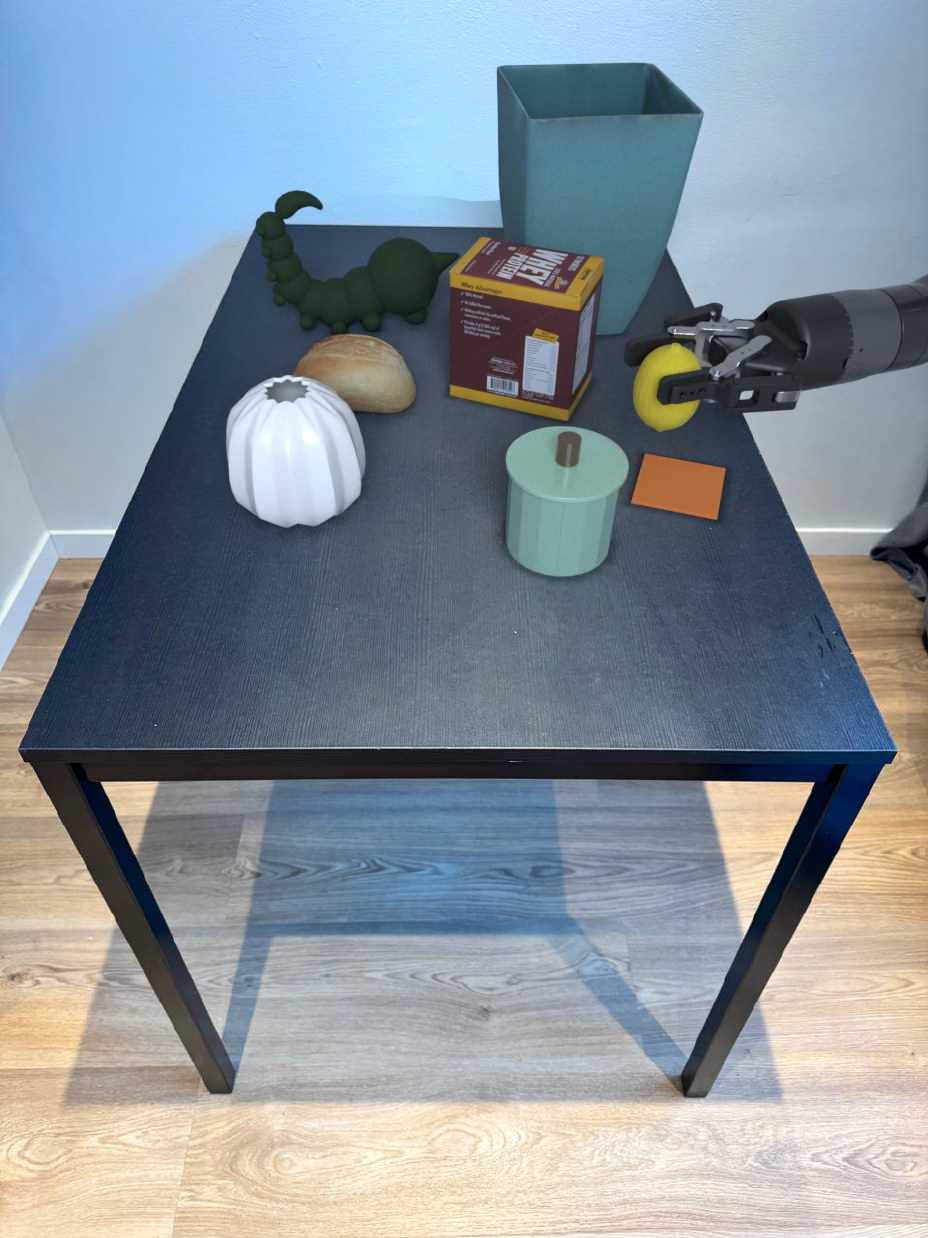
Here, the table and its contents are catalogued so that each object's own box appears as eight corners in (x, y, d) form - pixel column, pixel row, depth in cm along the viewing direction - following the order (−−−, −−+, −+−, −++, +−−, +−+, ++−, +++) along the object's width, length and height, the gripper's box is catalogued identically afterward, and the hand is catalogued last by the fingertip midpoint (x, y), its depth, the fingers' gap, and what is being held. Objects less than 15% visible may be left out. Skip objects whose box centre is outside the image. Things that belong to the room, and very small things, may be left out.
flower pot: (662, 348, 116) (707, 110, 96) (513, 358, 114) (528, 117, 93) (620, 281, 130) (652, 60, 109) (487, 288, 127) (495, 65, 107)
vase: (294, 563, 86) (275, 448, 76) (209, 501, 92) (182, 388, 82) (396, 500, 93) (390, 387, 83) (310, 447, 99) (296, 337, 90)
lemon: (667, 406, 77) (683, 321, 71) (706, 439, 74) (726, 352, 68) (614, 422, 75) (626, 336, 70) (651, 456, 72) (667, 368, 66)
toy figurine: (284, 358, 116) (470, 330, 117) (248, 212, 102) (458, 182, 104) (283, 324, 122) (459, 298, 124) (248, 182, 109) (447, 155, 110)
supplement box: (476, 356, 114) (480, 234, 103) (591, 380, 110) (607, 256, 99) (446, 395, 107) (446, 270, 96) (567, 422, 103) (582, 295, 92)
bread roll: (295, 383, 109) (287, 323, 103) (416, 382, 109) (414, 322, 103) (288, 427, 102) (278, 365, 96) (416, 426, 102) (415, 364, 97)
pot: (617, 520, 91) (631, 444, 84) (598, 586, 84) (611, 509, 77) (520, 501, 93) (526, 425, 86) (493, 563, 86) (497, 486, 79)
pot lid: (636, 447, 85) (642, 415, 82) (615, 519, 77) (620, 486, 75) (522, 426, 87) (524, 394, 84) (490, 494, 79) (492, 461, 77)
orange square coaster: (725, 471, 97) (725, 468, 97) (716, 520, 91) (717, 517, 91) (644, 456, 99) (644, 453, 99) (630, 503, 93) (631, 500, 93)
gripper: (790, 260, 75) (610, 287, 72) (896, 339, 66) (695, 375, 62) (768, 340, 81) (600, 369, 77) (863, 424, 71) (676, 462, 68)
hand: (643, 371), depth 70 cm, fingers closed on lemon, 5 cm apart
